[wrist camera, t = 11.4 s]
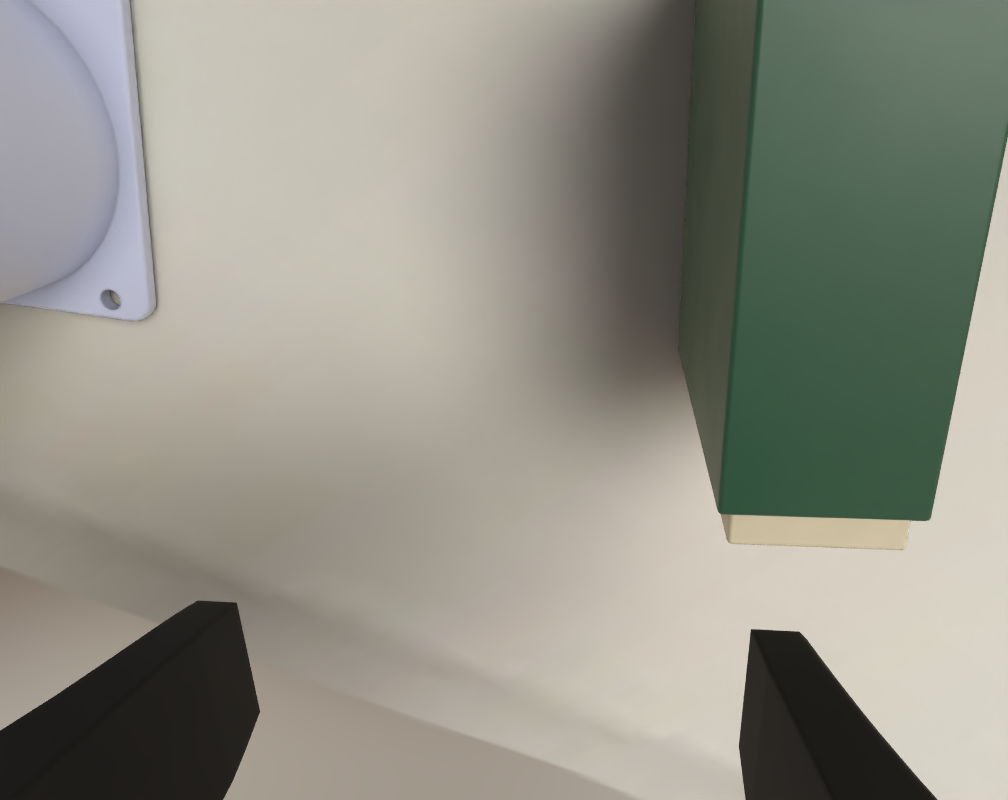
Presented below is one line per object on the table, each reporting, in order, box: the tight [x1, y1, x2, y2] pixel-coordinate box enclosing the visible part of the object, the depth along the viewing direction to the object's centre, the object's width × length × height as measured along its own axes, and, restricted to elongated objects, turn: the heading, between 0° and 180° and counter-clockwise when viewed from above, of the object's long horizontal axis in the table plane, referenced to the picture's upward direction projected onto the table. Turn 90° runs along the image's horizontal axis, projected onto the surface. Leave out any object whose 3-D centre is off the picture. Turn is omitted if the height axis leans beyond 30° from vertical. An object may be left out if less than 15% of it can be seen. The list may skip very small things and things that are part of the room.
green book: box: [678, 0, 1008, 550], centre depth 13 cm, size 3×9×8 cm, turn 2°
